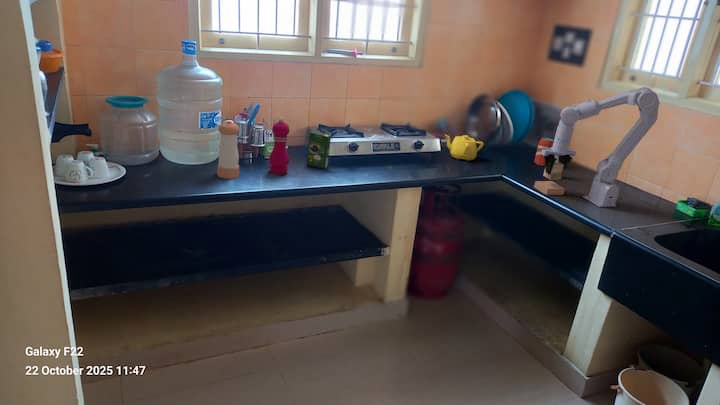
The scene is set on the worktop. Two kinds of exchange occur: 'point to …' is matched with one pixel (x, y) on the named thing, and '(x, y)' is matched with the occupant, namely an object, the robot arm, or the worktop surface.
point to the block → (555, 171)
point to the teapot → (463, 147)
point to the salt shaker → (228, 151)
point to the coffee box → (318, 149)
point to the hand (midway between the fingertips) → (553, 173)
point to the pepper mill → (279, 148)
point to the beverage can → (543, 144)
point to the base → (549, 188)
